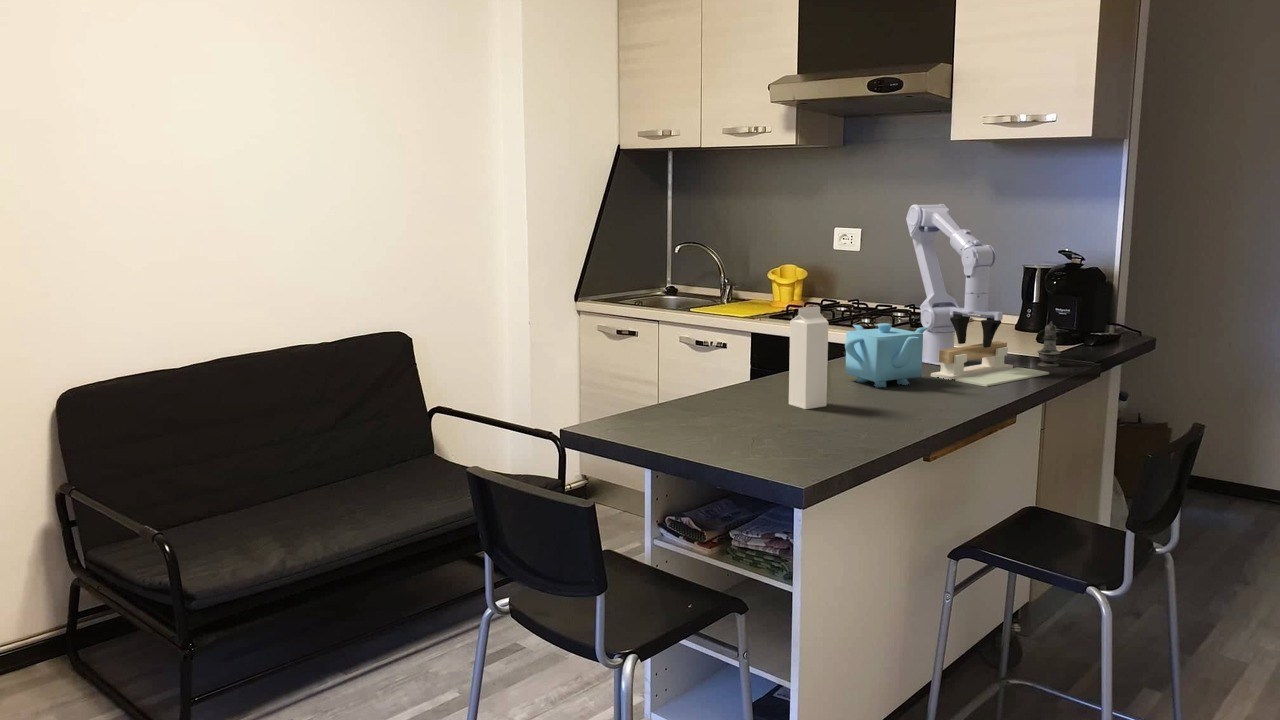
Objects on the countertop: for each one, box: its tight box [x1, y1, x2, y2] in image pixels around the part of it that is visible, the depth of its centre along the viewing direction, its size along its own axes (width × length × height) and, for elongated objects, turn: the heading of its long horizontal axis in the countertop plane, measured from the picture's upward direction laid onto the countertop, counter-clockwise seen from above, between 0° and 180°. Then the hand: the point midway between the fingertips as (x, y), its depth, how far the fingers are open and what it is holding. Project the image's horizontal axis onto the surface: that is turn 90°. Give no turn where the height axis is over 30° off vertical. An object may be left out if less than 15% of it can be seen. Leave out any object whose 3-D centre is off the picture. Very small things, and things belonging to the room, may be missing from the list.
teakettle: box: [844, 322, 929, 388], centre depth 238 cm, size 19×19×15 cm
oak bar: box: [939, 340, 1008, 364], centre depth 250 cm, size 3×24×3 cm, turn 125°
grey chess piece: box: [1037, 320, 1062, 368], centre depth 258 cm, size 6×6×12 cm
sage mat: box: [954, 366, 1050, 387], centre depth 243 cm, size 9×26×1 cm, turn 125°
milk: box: [788, 305, 829, 410], centre depth 212 cm, size 6×6×22 cm
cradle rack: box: [930, 346, 1014, 381], centre depth 250 cm, size 6×26×6 cm, turn 125°
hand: (974, 345), depth 249 cm, fingers open, 7 cm apart
